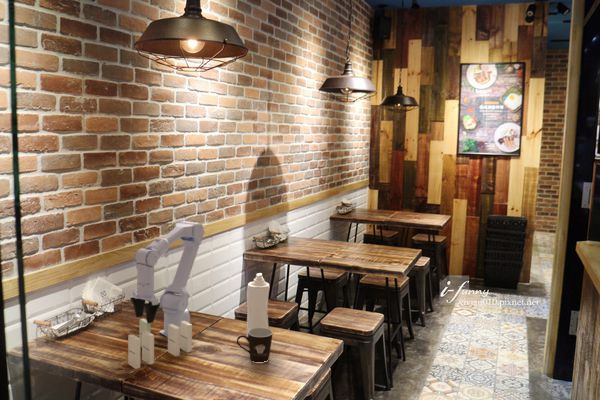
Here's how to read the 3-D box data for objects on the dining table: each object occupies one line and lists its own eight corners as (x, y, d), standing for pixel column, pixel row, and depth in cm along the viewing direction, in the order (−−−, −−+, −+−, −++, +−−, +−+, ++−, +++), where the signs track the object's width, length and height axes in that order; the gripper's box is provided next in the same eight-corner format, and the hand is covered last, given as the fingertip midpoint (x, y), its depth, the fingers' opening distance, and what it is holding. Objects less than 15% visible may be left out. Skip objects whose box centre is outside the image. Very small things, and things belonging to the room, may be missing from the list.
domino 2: (143, 344, 188) (143, 318, 187) (150, 349, 184) (150, 322, 183) (139, 345, 187) (139, 319, 185) (146, 350, 183) (146, 323, 182)
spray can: (236, 337, 198) (238, 274, 195) (255, 330, 207) (257, 269, 204) (259, 345, 191) (261, 280, 188) (277, 337, 200) (279, 275, 197)
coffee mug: (275, 357, 182) (276, 330, 181) (266, 367, 174) (267, 338, 173) (245, 351, 186) (246, 324, 185) (234, 360, 178) (235, 333, 177)
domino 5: (183, 347, 187) (184, 320, 186) (191, 351, 184) (192, 324, 183) (179, 348, 186) (180, 321, 185) (187, 352, 183) (188, 325, 182)
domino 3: (146, 358, 177) (146, 330, 175) (153, 363, 173) (154, 334, 172) (141, 359, 175) (142, 331, 174) (149, 364, 172) (149, 336, 171)
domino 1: (132, 362, 173) (132, 334, 172) (140, 367, 170) (140, 338, 168) (128, 364, 172) (128, 335, 171) (135, 369, 168) (135, 339, 167)
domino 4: (171, 350, 184) (172, 323, 183) (179, 355, 180) (180, 327, 179) (167, 351, 183) (168, 324, 181) (175, 356, 179) (175, 328, 178)
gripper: (125, 279, 185) (124, 316, 186) (145, 288, 175) (144, 327, 176) (143, 276, 190) (142, 312, 191) (164, 285, 180) (163, 323, 181)
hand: (144, 319), depth 184 cm, fingers open, 7 cm apart
